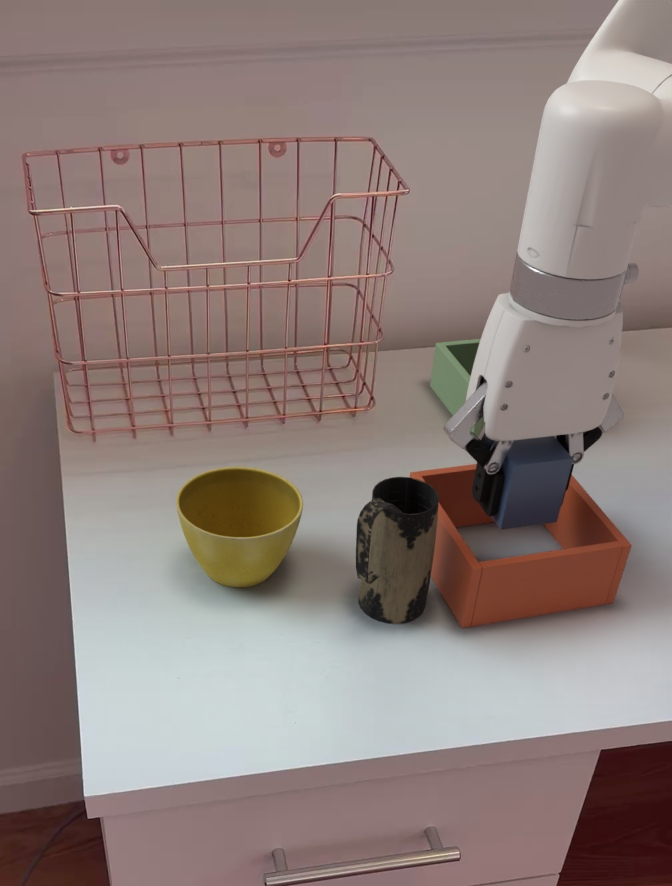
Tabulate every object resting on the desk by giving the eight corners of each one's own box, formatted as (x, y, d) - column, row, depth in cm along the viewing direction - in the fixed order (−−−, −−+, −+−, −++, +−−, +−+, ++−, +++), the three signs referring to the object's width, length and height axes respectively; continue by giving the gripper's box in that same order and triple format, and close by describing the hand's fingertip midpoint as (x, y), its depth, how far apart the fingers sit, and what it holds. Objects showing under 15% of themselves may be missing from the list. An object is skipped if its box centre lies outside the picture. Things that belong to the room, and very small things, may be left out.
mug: (385, 576, 87) (400, 454, 79) (439, 606, 84) (460, 482, 76) (325, 621, 82) (335, 497, 74) (380, 654, 80) (396, 528, 72)
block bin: (539, 515, 95) (554, 453, 90) (611, 608, 85) (632, 545, 81) (401, 535, 91) (409, 471, 87) (460, 634, 82) (473, 569, 77)
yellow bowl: (279, 527, 91) (281, 458, 87) (315, 598, 84) (320, 527, 80) (167, 545, 89) (163, 474, 84) (195, 619, 82) (193, 547, 77)
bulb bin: (526, 380, 114) (536, 333, 110) (574, 434, 106) (587, 385, 102) (428, 390, 111) (435, 342, 107) (471, 447, 103) (479, 396, 99)
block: (530, 488, 86) (544, 425, 82) (557, 522, 83) (573, 458, 79) (475, 495, 85) (487, 431, 81) (500, 530, 82) (514, 465, 78)
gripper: (646, 255, 76) (588, 466, 88) (432, 270, 72) (402, 489, 84) (701, 298, 71) (632, 515, 83) (474, 317, 67) (436, 543, 79)
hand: (517, 500), depth 83 cm, fingers closed on block, 5 cm apart
